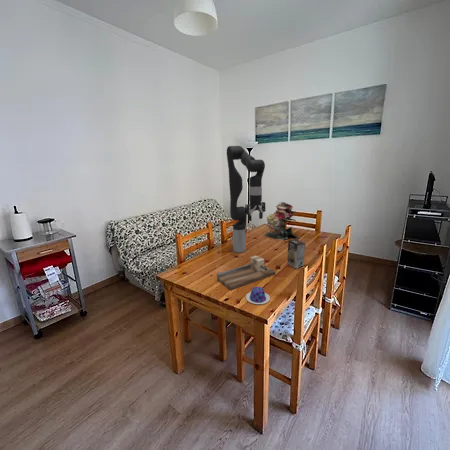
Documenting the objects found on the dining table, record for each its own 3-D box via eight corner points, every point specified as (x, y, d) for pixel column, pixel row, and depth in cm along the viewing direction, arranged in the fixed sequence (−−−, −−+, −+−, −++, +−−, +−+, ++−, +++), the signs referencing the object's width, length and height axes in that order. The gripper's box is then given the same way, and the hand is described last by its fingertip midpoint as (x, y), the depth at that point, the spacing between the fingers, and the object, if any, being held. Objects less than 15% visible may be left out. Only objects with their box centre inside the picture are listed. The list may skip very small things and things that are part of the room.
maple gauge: (250, 267, 152) (250, 257, 150) (256, 266, 155) (256, 255, 153) (263, 275, 142) (263, 264, 141) (269, 273, 145) (269, 262, 143)
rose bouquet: (283, 229, 235) (284, 198, 227) (303, 238, 208) (305, 203, 200) (259, 233, 226) (259, 200, 218) (276, 243, 200) (277, 206, 192)
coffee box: (286, 263, 162) (287, 240, 158) (295, 261, 164) (296, 238, 160) (295, 268, 154) (296, 244, 149) (303, 267, 156) (305, 242, 152)
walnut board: (217, 279, 143) (217, 273, 142) (260, 265, 159) (260, 260, 158) (230, 290, 131) (230, 283, 130) (275, 274, 148) (275, 268, 147)
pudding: (252, 308, 116) (252, 298, 115) (241, 295, 127) (241, 286, 125) (274, 302, 120) (275, 292, 119) (262, 290, 131) (262, 281, 130)
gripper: (260, 192, 156) (260, 217, 160) (242, 194, 149) (242, 220, 153) (268, 193, 150) (268, 219, 154) (249, 195, 143) (249, 222, 147)
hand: (255, 219), depth 154 cm, fingers open, 8 cm apart
